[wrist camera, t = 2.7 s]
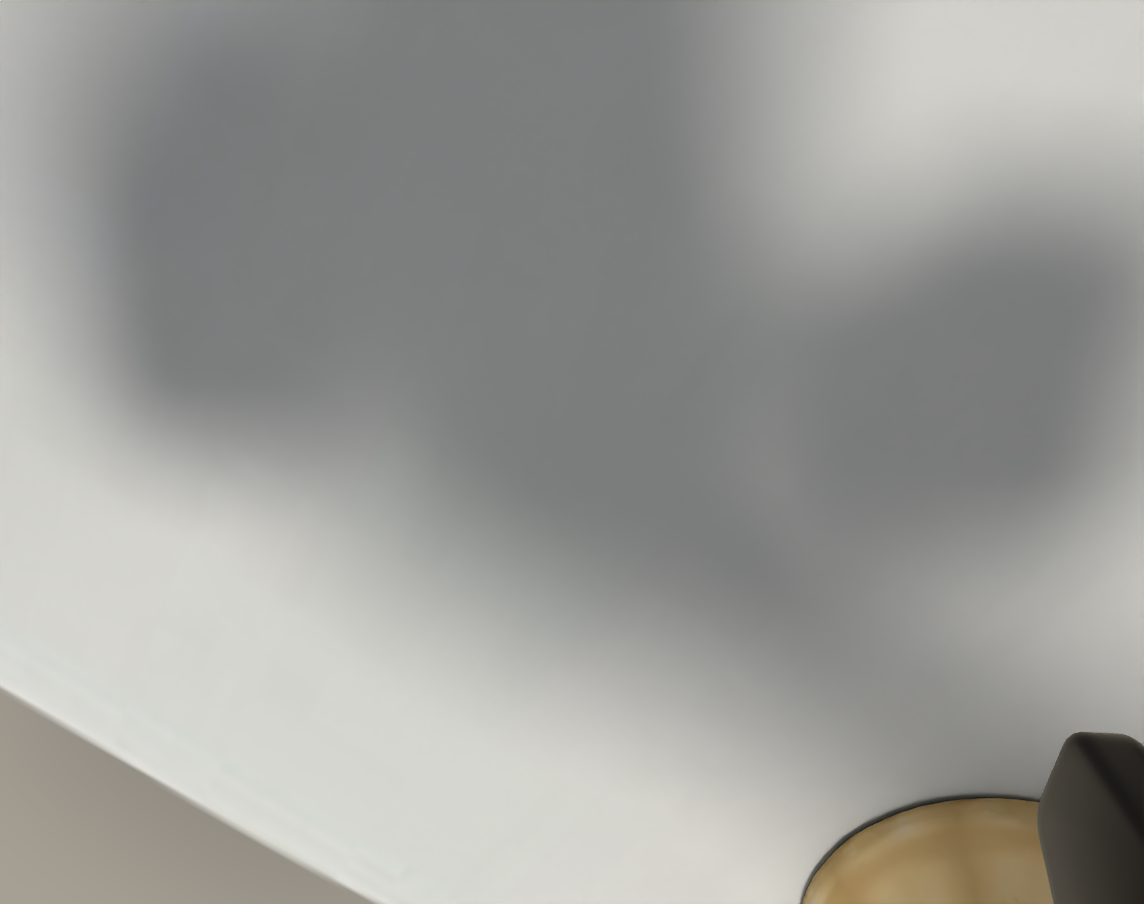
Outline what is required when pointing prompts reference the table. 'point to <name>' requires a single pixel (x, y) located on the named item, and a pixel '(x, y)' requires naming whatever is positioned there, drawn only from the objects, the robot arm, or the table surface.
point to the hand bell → (940, 858)
